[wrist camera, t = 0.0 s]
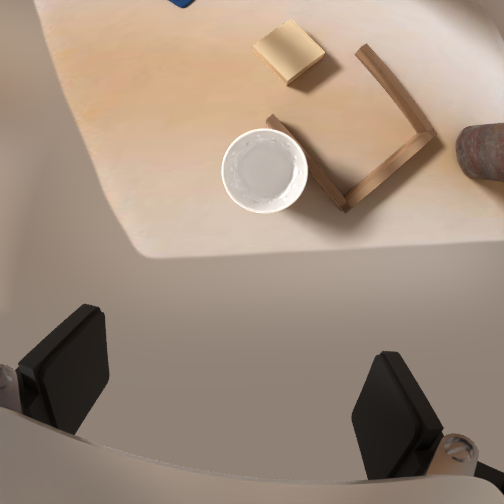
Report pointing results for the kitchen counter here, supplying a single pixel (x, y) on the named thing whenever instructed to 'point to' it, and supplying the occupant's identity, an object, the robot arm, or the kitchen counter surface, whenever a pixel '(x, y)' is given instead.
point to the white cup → (264, 171)
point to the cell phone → (181, 2)
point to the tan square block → (288, 51)
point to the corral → (392, 163)
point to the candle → (482, 151)
